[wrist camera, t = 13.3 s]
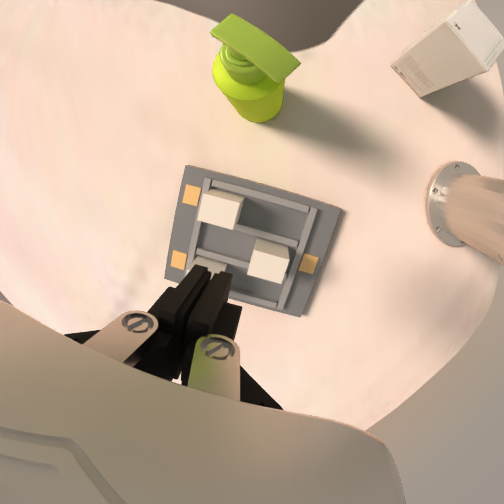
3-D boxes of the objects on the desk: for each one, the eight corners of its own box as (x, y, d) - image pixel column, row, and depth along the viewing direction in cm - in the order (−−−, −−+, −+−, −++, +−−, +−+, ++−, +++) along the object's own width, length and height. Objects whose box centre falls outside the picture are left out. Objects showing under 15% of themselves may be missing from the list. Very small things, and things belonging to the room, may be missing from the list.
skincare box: (418, 98, 28) (488, 76, 13) (385, 63, 27) (442, 19, 12) (445, 70, 26) (510, 45, 11) (415, 37, 25) (471, -4, 10)
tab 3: (287, 246, 35) (289, 260, 30) (280, 267, 36) (281, 284, 31) (256, 237, 35) (254, 249, 30) (250, 259, 36) (246, 274, 31)
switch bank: (338, 207, 34) (342, 210, 32) (299, 313, 39) (300, 320, 37) (188, 165, 34) (183, 165, 32) (167, 275, 39) (162, 280, 37)
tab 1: (244, 196, 33) (239, 203, 29) (238, 220, 34) (232, 230, 30) (213, 188, 33) (203, 193, 29) (207, 211, 34) (197, 220, 30)
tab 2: (227, 263, 36) (220, 279, 32) (222, 283, 37) (214, 301, 33) (198, 255, 36) (187, 269, 32) (194, 275, 37) (183, 291, 32)
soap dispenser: (266, 137, 32) (253, 105, 13) (225, 102, 31) (167, 42, 12) (298, 105, 30) (325, 41, 12) (257, 71, 29) (235, -17, 10)
